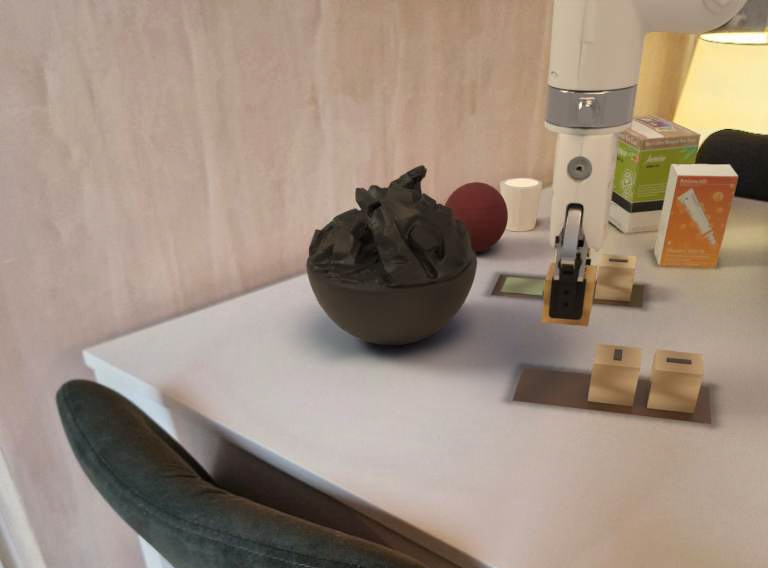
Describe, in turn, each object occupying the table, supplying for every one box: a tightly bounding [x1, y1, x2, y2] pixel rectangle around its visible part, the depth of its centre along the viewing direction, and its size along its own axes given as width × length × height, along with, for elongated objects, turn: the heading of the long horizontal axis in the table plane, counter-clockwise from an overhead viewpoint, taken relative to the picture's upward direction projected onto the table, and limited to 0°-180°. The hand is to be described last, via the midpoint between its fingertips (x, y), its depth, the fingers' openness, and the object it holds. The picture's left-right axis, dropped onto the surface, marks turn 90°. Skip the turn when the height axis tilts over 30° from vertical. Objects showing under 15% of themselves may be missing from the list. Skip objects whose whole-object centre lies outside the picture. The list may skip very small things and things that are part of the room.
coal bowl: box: [305, 164, 478, 346], centre depth 89 cm, size 20×20×19 cm
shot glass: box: [499, 177, 544, 232], centre depth 126 cm, size 7×7×7 cm
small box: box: [653, 163, 739, 268], centre depth 109 cm, size 8×6×13 cm
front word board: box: [512, 343, 712, 425], centre depth 80 cm, size 20×8×5 cm, turn 73°
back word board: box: [490, 250, 645, 309], centre depth 103 cm, size 20×8×5 cm, turn 73°
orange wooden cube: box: [541, 262, 598, 327], centre depth 77 cm, size 5×5×5 cm
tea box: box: [608, 114, 701, 234], centre depth 124 cm, size 15×10×15 cm, turn 10°
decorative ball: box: [444, 181, 508, 253], centre depth 116 cm, size 10×10×10 cm
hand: (568, 305), depth 77 cm, fingers closed on orange wooden cube, 4 cm apart
